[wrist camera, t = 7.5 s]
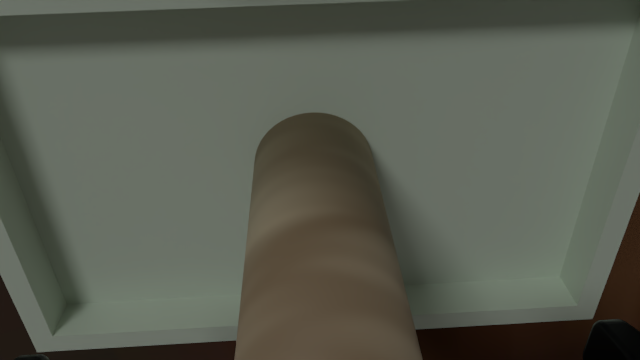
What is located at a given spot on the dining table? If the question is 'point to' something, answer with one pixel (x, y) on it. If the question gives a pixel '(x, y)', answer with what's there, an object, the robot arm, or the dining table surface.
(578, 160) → the tray
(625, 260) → the dining table surface
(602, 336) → the robot arm
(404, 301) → the dowel
